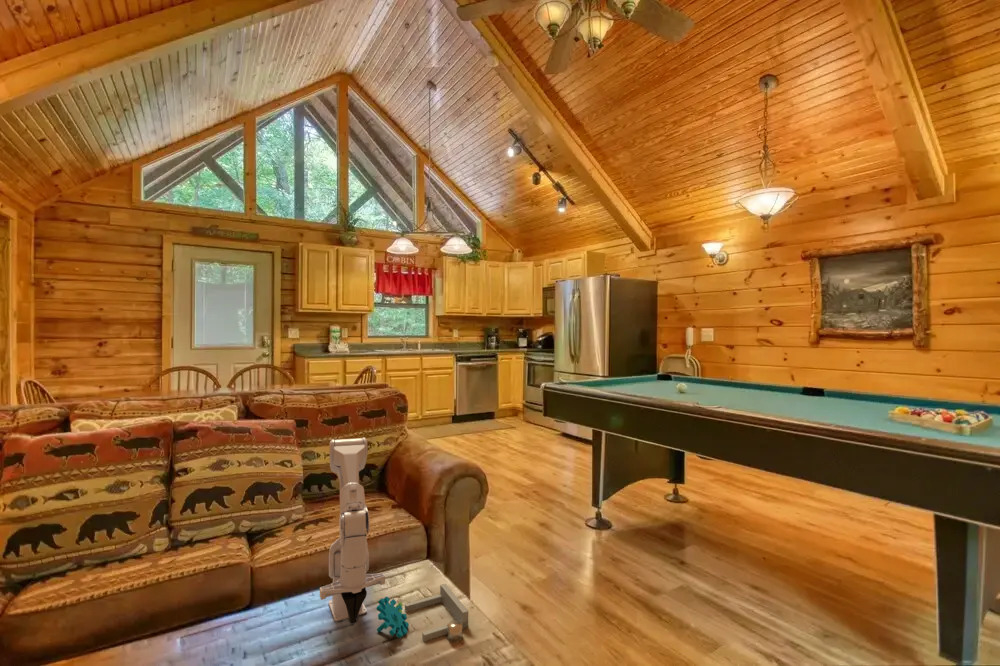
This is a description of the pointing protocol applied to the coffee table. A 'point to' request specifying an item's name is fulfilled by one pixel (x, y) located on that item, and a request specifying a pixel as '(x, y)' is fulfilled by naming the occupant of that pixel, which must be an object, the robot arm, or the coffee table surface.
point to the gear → (392, 617)
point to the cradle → (452, 605)
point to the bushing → (454, 631)
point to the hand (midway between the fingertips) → (352, 621)
